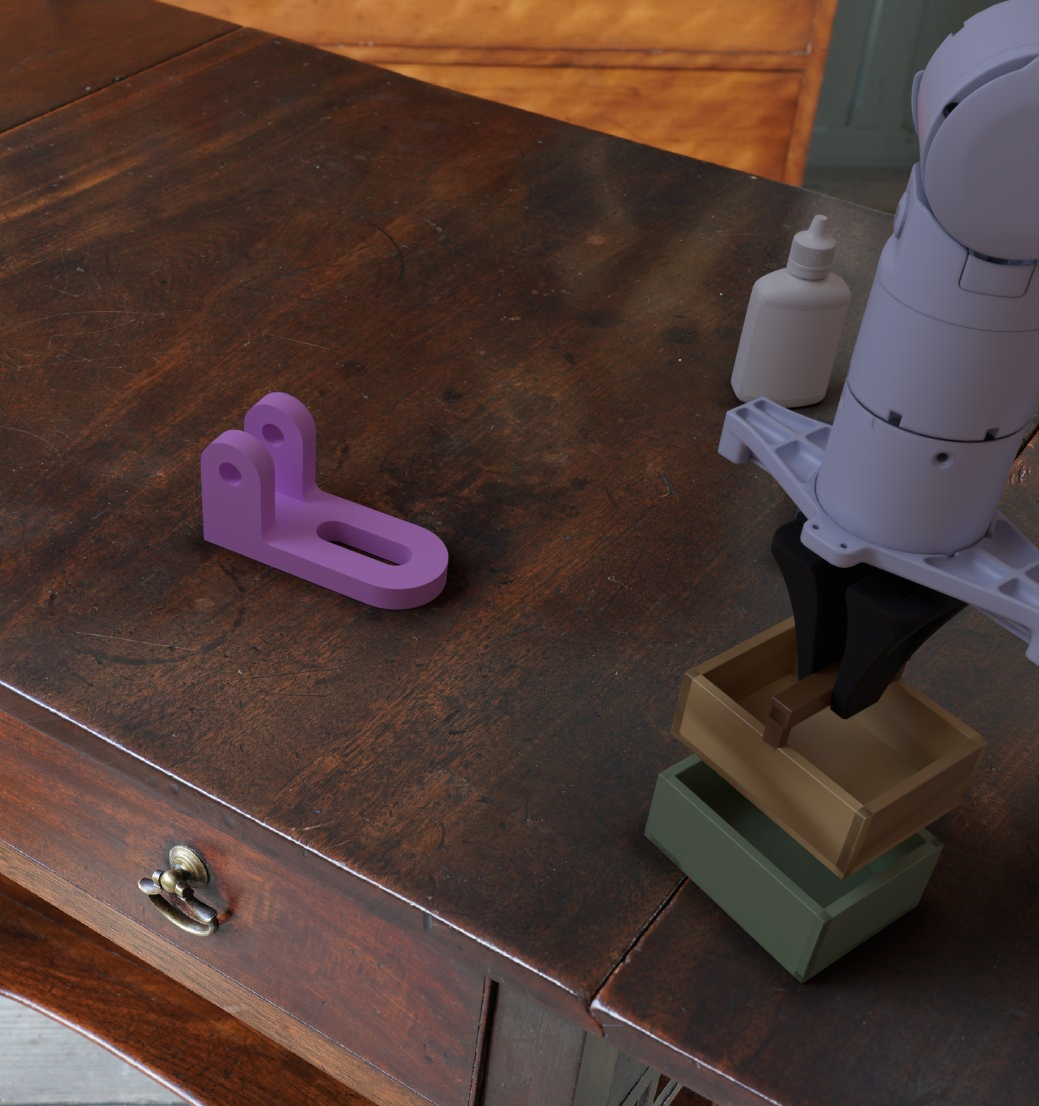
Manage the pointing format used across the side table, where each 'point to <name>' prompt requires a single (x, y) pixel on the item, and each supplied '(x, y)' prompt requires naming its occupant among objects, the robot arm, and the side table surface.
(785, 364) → the eye dropper bottle
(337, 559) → the bracket
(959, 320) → the robot arm
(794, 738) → the top basket
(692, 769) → the box
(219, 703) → the side table surface
